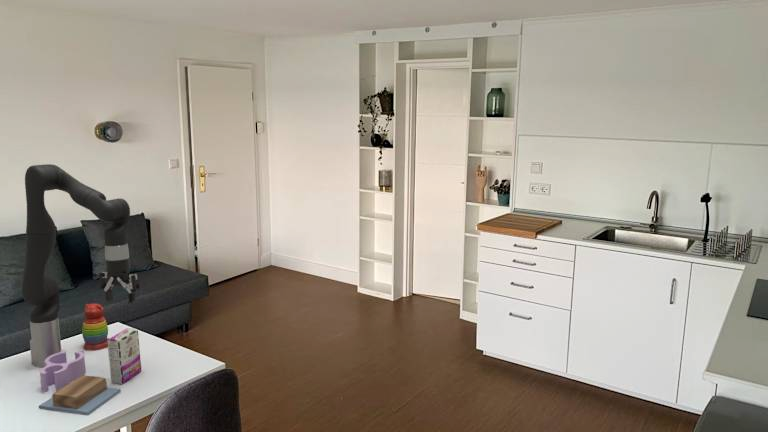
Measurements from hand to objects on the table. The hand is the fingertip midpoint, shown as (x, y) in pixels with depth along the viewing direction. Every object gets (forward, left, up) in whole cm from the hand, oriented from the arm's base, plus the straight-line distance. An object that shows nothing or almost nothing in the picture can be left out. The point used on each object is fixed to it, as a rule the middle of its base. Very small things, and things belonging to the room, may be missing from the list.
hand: (120, 301), depth 207 cm
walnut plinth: (-4, -18, -27) cm, 33 cm away
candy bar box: (0, 0, -28) cm, 28 cm away
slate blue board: (-4, -18, -28) cm, 34 cm away
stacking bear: (-29, +22, -28) cm, 46 cm away
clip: (-21, -6, -29) cm, 36 cm away
